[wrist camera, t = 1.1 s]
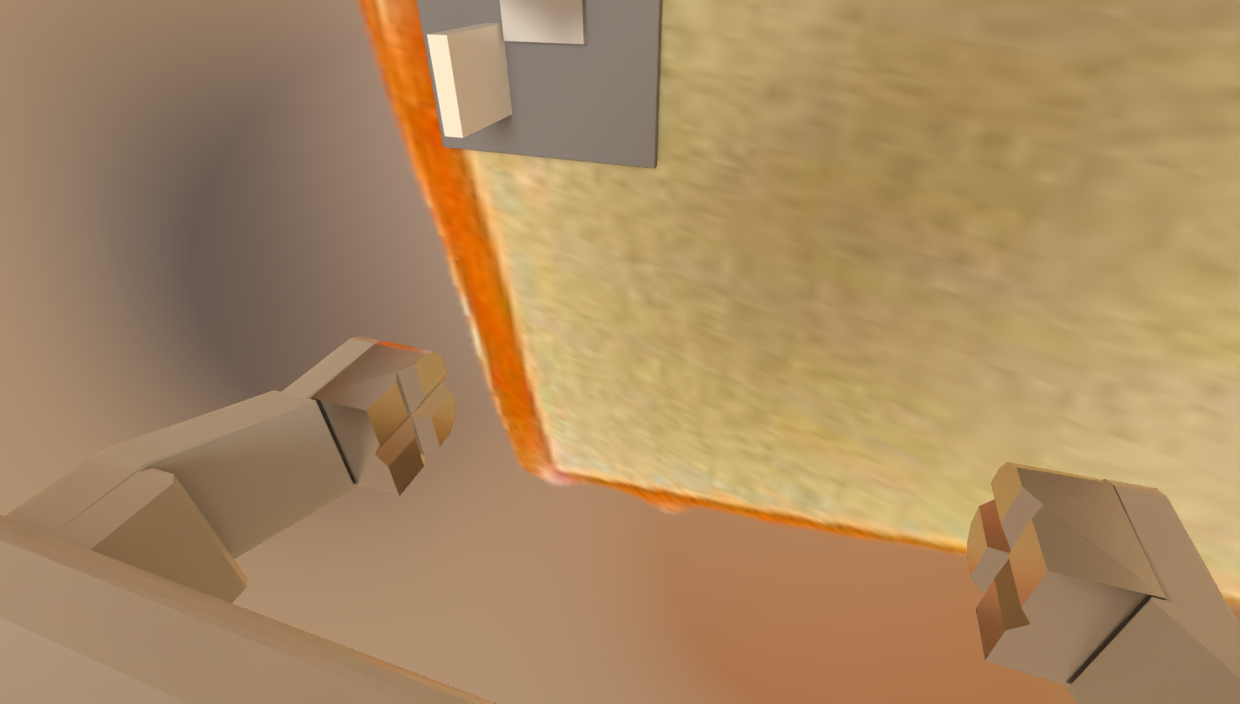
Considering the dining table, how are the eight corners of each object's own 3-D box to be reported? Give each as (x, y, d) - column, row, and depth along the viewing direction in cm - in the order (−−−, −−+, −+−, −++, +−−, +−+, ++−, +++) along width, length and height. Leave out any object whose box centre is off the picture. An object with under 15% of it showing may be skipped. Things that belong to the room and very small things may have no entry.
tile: (483, 22, 40) (425, 34, 35) (502, 23, 40) (446, 35, 34) (494, 113, 44) (443, 136, 38) (512, 114, 43) (463, 137, 38)
